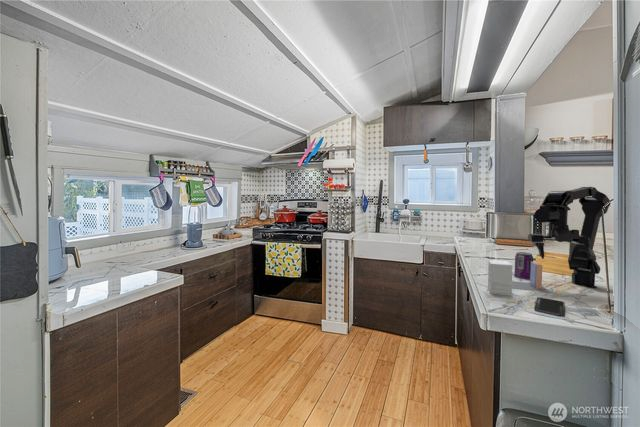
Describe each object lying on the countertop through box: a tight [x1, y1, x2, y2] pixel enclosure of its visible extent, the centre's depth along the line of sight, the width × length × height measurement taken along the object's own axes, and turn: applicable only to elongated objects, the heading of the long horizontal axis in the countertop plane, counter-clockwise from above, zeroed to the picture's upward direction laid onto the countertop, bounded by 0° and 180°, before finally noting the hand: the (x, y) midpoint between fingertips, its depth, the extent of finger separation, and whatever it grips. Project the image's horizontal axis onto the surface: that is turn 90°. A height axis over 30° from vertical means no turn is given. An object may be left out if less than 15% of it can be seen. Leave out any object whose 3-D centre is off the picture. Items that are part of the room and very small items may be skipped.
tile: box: [529, 261, 543, 289], centre depth 119 cm, size 2×6×10 cm, turn 160°
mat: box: [512, 280, 551, 293], centre depth 120 cm, size 14×12×1 cm
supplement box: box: [487, 259, 513, 297], centre depth 113 cm, size 7×7×13 cm
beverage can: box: [513, 251, 534, 280], centre depth 134 cm, size 7×7×12 cm
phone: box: [533, 297, 566, 317], centre depth 98 cm, size 8×1×15 cm
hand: (556, 259), depth 116 cm, fingers open, 9 cm apart
